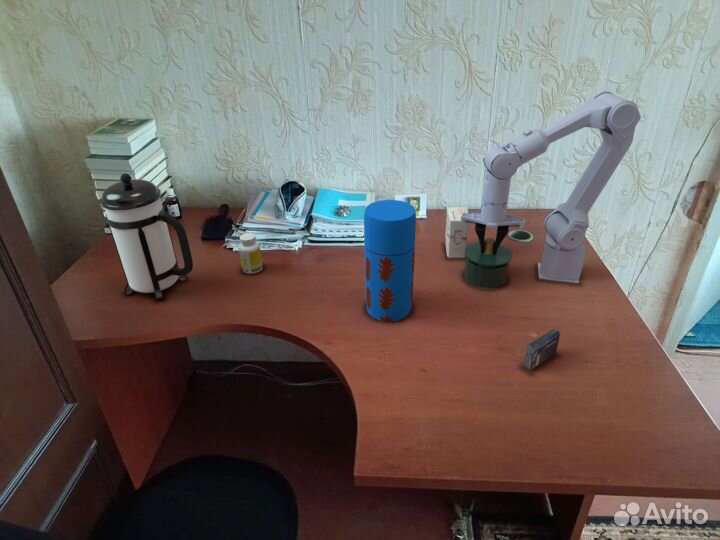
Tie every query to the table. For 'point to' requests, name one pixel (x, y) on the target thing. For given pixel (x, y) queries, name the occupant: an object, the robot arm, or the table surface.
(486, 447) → the table surface
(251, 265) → the supplement bottle
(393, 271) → the thermos
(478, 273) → the tin
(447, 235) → the ink cartridge box
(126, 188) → the coffee press
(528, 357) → the mini dv tape
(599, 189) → the robot arm
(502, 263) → the tin lid
